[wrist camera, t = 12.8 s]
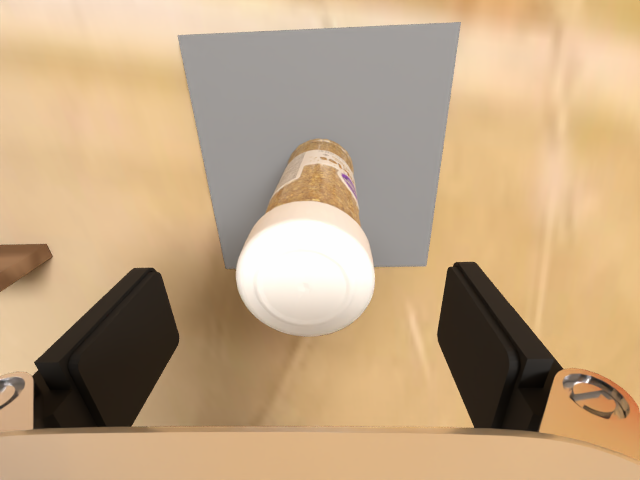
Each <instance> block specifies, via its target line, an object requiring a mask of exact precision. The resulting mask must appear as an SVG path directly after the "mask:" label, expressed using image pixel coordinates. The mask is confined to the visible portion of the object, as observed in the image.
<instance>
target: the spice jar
mask: <svg viewBox="0 0 640 480" xmlns="http://www.w3.org/2000/svg"><path fill="white" fill-rule="evenodd" d="M353 175H354V169H353V164H352V160H351V158H350V156H349V154H348V152H347V151H346V150H345V149H344V148H343V147H342V146H340V145H339V144H338V143H336V142H333V141H331V140H328V139H313V140H309V141H307V142H304V143H303V144H301V145H299V146H298V147H297V148H296V150H295V151H294V152H293V153H292V155H291V156H290V158H289V161H288V165H287V167H286V168H285V170H284V173H283V175H282V177H281V179H280V181H279V183H278V185H277V187H276V189H275V191H274V193H273V195H272V197H271V199H270V202H269V204H268V207H267V211H266V213H265V215H264V216H262V217H261V218H260V219H259V220H258V222H257V223H256V224H255V225H254V227H253V228H252V230H251V232H250V234H249V236H248V238H247V240H246V242H245V244H244V246H243V249H242V251H241V253H240V256H239V258H238V262H237V267H236V283H237V288H238V291H239V294H240V296H241V299H242V300H243V302H244V304H245V306H246V307H247V308H248V310H249V311H250V312H251V313H252V314H253V315H254V316H255V317H256V318H257V319H259V320H260V321H261V322H263V323H264V324H266V325H267V326H269V327H271V328H273V329H275V330H277V331H280V332H283V333H286V334H290V335H295V336H304V337H309V336H321V335H326V334H330V333H334V332H336V331H339V330H341V329H343V328H345V327H347V326H348V325H350V324H351V323H353V322H354V321H355V320H356V319H357V318H358V317H359V316H360V315H361V314H362V313H363V312H364V311H365V309H366V308H367V306H368V304H369V302H370V300H371V298H372V295H373V291H374V286H375V272H374V264H373V258H372V254H371V249H370V245H369V242H368V239H367V237H366V235H365V233H364V231H363V230H362V229H361V225H360V220H359V206H358V200H357V193H356V186H355V180H354V176H353Z"/></svg>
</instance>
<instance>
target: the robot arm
mask: <svg viewBox="0 0 640 480" xmlns="http://www.w3.org/2000/svg"><path fill="white" fill-rule="evenodd" d="M437 337H438V342H439V345H440V347H441V350H442V352H443V354H444V357H445V359H446V362H447V364H448V366H449V369H450V371H451V373H452V376H453V378H454V380H455V383H456V385H457V388H458V390H459V392H460V395H461V397H462V399H463V402H464V404H465V407H466V409H467V411H468V414H469V416H470V418H471V421H472V423H473V425H474V428H454V427H366V426H165V427H131V426H132V424H133V423H134V421H135V419H136V417H137V416H138V414H139V412H140V410H141V409H142V407H143V405H144V403H145V402H146V400H147V398H148V396H149V395H150V393H151V391H152V390H153V388H154V386H155V384H156V383H157V381H158V379H159V377H160V376H161V374H162V372H163V370H164V369H165V367H166V365H167V363H168V362H169V360H170V358H171V356H172V355H173V353H174V351H175V349H176V348H177V346H178V343H179V333H178V330H177V327H176V323H175V320H174V316H173V313H172V310H171V306H170V303H169V299H168V296H167V293H166V289H165V286H164V282H163V279H162V276H161V274H160V273H159V272H156V270H155V269H154V268H134V269H132V270H131V271H130V272H129V273H128V274H127V275H126V276H124V277H123V278H122V279H121V280H120V281H119V282H118V283H117V284H116V285H115V286H114V287H113V288H112V289H111V290H110V291H109V292H108V293H107V294H106V295H105V296H103V297H102V298H101V299H100V300H99V301H98V302H97V303H96V304H95V305H94V306H93V307H92V308H91V309H90V310H89V311H88V312H87V313H86V314H85V315H84V316H82V317H81V318H80V319H79V320H78V321H77V322H76V323H75V324H74V325H73V326H72V327H71V328H70V329H69V330H68V331H67V332H66V333H65V334H64V335H63V336H61V337H60V338H59V339H58V340H57V341H56V342H55V343H54V344H53V345H52V346H51V347H50V348H49V349H48V350H47V351H46V352H45V353H44V354H43V355H42V356H40V357H39V358H38V359H37V360H36V361H35V362H34V363H35V365H36V367H37V368H38V371H37V372H36V373H35V374H34V375H33V376H32V375H31V374H29V373H27V372H13V373H8V374H5V375H2V376H0V480H640V412H639V408H638V405H637V404H636V403H635V401H634V400H633V398H632V397H631V396H630V395H629V394H628V393H627V392H626V391H625V390H624V389H623V388H621V387H620V386H618V385H617V384H616V383H614V382H613V381H611V380H609V379H607V378H605V377H603V376H601V375H599V374H597V373H594V372H591V371H588V370H583V369H577V368H569V369H563V368H562V367H561V365H560V364H559V363H558V362H557V361H556V359H555V358H554V357H553V356H552V355H551V353H550V352H549V351H548V350H547V348H546V347H545V346H544V345H543V344H542V342H541V341H540V340H539V339H538V337H537V336H536V335H535V334H534V333H533V331H532V330H531V329H530V328H529V326H528V325H527V324H526V323H525V322H524V320H523V319H522V318H521V317H520V315H519V314H518V313H517V312H516V311H515V309H514V308H513V307H512V306H511V305H510V304H509V303H508V301H507V300H506V299H505V298H504V297H503V295H502V294H501V293H500V292H499V290H498V289H497V288H496V287H495V286H494V284H493V283H492V282H491V281H490V279H489V278H488V277H487V276H486V274H485V273H484V272H483V271H482V270H481V268H480V267H479V266H478V265H477V264H476V263H475V262H456V263H454V265H453V267H449V268H448V270H447V276H446V282H445V288H444V295H443V301H442V307H441V313H440V320H439V326H438V333H437Z"/></svg>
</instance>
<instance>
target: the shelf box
mask: <svg viewBox="0 0 640 480" xmlns="http://www.w3.org/2000/svg"><path fill="white" fill-rule="evenodd" d="M51 257H52V255H51V253H50V251H49V249H48V247H47V245H46V244H27V245H0V292H1V291H2V290H4V289H5V288H7V287H8V286H10V285H11V284H13V283H14V282H16V281H17V280H19V279H20V278H22V277H23V276H25V275H26V274H28V273H29V272H31V271H32V270H33V269H35V268H36V267H38V266H39V265H41V264H42V263H44V262H45V261H47V260H48V259H50V258H51Z"/></svg>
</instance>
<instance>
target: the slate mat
mask: <svg viewBox="0 0 640 480" xmlns="http://www.w3.org/2000/svg"><path fill="white" fill-rule="evenodd" d="M460 24H461V22H454V23H433V24H411V25H389V26H367V27H346V28H324V29H302V30H281V31H259V32H237V33H216V34H194V35H178V40H179V44H180V49H181V54H182V59H183V64H184V69H185V74H186V78H187V83H188V88H189V93H190V98H191V103H192V108H193V112H194V117H195V122H196V127H197V132H198V137H199V141H200V146H201V151H202V156H203V161H204V166H205V171H206V175H207V180H208V185H209V190H210V195H211V200H212V205H213V209H214V214H215V219H216V224H217V229H218V234H219V239H220V243H221V248H222V253H223V258H224V263H225V268H226V269H236V267H237V262H238V258H239V256H240V253H241V251H242V249H243V246H244V244H245V242H246V240H247V238H248V236H249V234H250V232H251V230H252V228H253V227H254V225H255V224H256V223H257V222H258V220H259V219H260V218H261V217H262V216H264V215H265V213H266V211H267V207H268V204H269V202H270V199H271V197H272V195H273V193H274V191H275V189H276V187H277V185H278V183H279V181H280V179H281V177H282V175H283V173H284V170H285V168H286V167H287V165H288V161H289V158H290V156H291V155H292V153H293V152H294V151H295V150H296V148H297V147H298V146H299V145H301V144H303V143H304V142H307V141H309V140H313V139H328V140H331V141H333V142H336V143H338V144H339V145H340V146H342V147H343V148H344V149H345V150H346V151H347V152H348V154H349V156H350V158H351V160H352V164H353V169H354V175H353V176H354V180H355V186H356V193H357V200H358V206H359V220H360V225H361V229H362V230H363V231H364V233H365V235H366V237H367V239H368V242H369V245H370V249H371V254H372V258H373V264H374V267H405V266H426V265H427V258H428V251H429V244H430V237H431V230H432V223H433V215H434V208H435V201H436V194H437V187H438V180H439V173H440V166H441V159H442V152H443V145H444V137H445V130H446V123H447V116H448V109H449V102H450V95H451V88H452V81H453V74H454V67H455V59H456V52H457V45H458V38H459V31H460Z"/></svg>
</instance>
